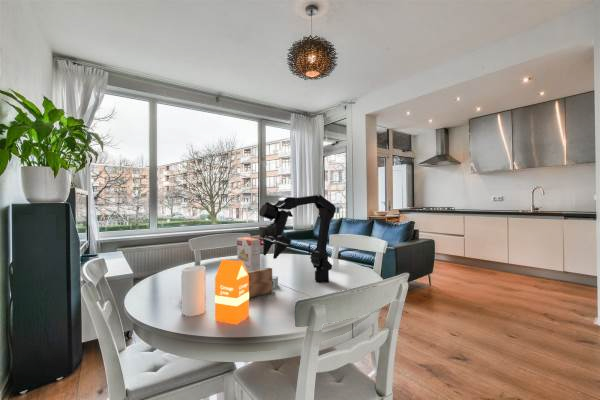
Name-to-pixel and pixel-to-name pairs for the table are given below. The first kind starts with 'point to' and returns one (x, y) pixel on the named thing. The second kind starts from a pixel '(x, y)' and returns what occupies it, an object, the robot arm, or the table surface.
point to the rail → (262, 295)
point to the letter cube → (274, 281)
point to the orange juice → (231, 292)
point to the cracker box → (249, 253)
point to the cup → (193, 290)
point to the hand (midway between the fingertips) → (269, 256)
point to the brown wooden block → (260, 282)
